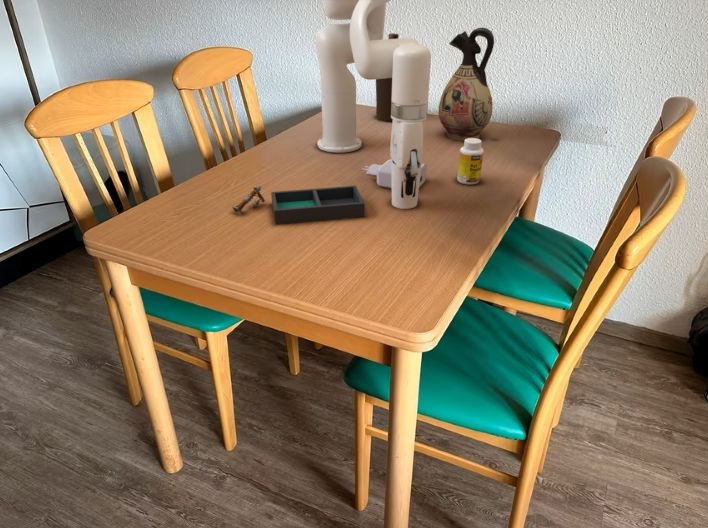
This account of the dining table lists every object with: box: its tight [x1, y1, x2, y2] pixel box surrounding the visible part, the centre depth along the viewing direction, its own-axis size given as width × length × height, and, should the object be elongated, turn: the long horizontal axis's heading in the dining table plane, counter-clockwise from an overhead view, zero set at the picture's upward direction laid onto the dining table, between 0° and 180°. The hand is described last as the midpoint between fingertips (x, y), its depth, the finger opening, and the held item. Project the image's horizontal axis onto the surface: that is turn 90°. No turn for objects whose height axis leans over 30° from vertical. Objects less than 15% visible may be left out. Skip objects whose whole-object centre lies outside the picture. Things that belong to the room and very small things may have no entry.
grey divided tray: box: [270, 185, 366, 225], centre depth 127 cm, size 10×19×3 cm, turn 100°
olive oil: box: [375, 32, 400, 123], centre depth 180 cm, size 11×11×25 cm
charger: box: [361, 158, 428, 189], centre depth 140 cm, size 5×9×15 cm
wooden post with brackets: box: [231, 185, 266, 215], centre depth 128 cm, size 2×8×4 cm, turn 136°
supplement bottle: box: [456, 138, 485, 186], centre depth 139 cm, size 6×6×10 cm
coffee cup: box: [391, 158, 422, 210], centre depth 128 cm, size 7×7×10 cm
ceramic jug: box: [438, 27, 495, 141], centre depth 162 cm, size 17×15×30 cm
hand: (405, 192), depth 129 cm, fingers closed on coffee cup, 4 cm apart
